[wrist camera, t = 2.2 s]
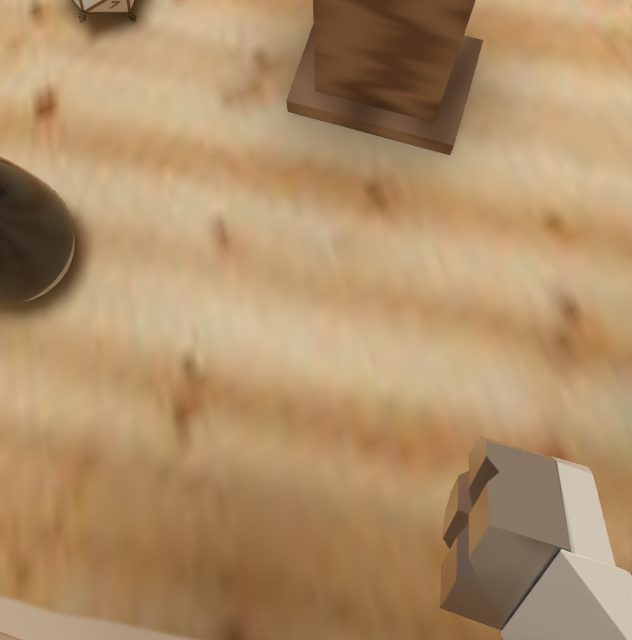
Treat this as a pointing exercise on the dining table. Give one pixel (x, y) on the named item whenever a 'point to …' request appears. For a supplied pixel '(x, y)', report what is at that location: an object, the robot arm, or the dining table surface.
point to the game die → (105, 7)
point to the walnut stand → (389, 68)
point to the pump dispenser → (31, 235)
